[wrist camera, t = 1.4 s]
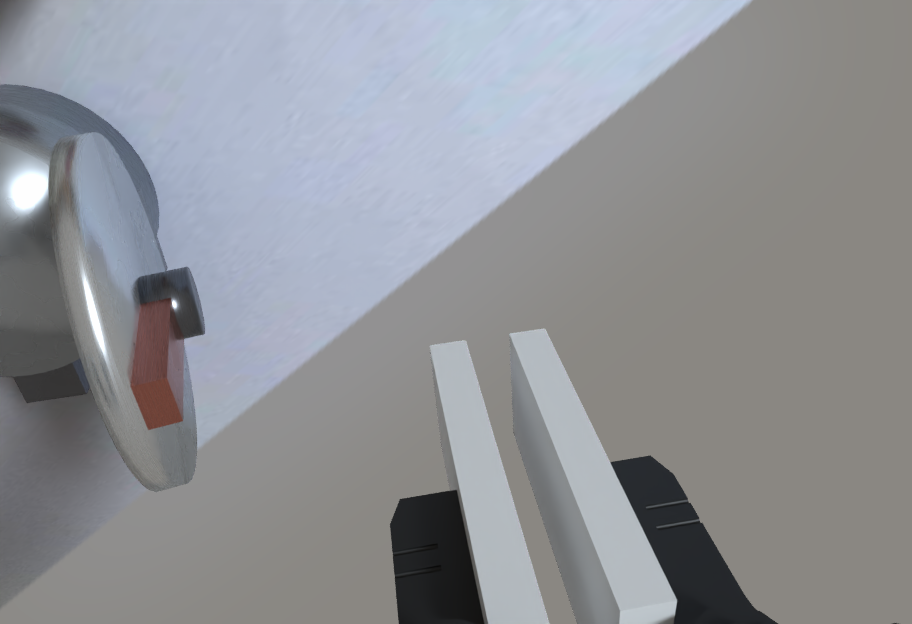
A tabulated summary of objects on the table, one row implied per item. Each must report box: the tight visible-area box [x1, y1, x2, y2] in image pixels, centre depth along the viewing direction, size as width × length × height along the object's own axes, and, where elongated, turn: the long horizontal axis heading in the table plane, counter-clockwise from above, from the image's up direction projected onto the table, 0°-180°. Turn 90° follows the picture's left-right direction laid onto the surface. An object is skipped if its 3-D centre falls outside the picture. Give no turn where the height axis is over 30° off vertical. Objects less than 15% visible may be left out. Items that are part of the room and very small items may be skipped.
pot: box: [0, 84, 167, 403], centre depth 36 cm, size 14×18×8 cm
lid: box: [48, 132, 205, 492], centre depth 28 cm, size 15×14×3 cm
